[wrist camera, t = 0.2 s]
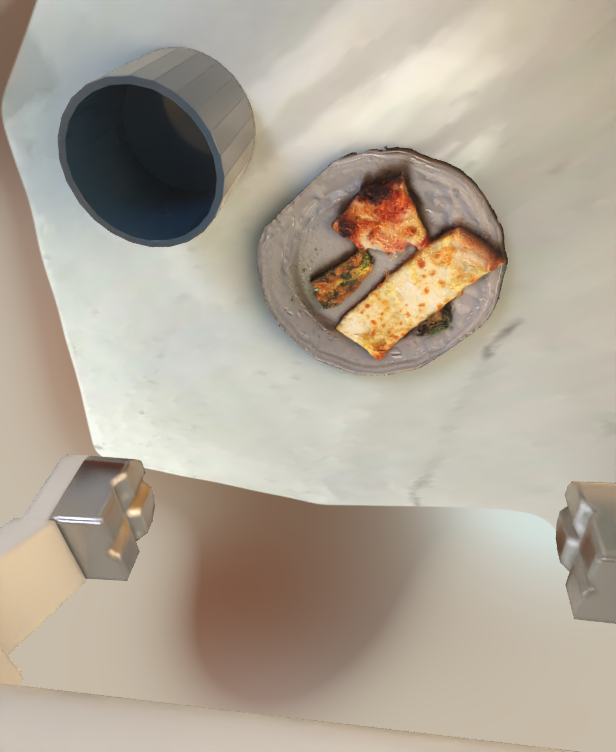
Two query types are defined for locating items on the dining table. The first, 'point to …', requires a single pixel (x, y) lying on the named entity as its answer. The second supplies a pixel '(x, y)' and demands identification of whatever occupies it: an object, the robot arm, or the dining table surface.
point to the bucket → (157, 145)
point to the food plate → (383, 261)
